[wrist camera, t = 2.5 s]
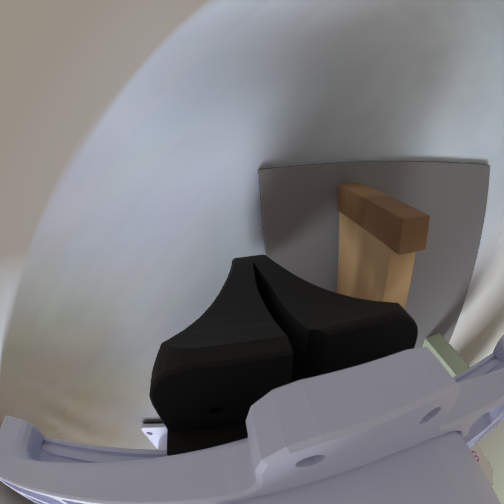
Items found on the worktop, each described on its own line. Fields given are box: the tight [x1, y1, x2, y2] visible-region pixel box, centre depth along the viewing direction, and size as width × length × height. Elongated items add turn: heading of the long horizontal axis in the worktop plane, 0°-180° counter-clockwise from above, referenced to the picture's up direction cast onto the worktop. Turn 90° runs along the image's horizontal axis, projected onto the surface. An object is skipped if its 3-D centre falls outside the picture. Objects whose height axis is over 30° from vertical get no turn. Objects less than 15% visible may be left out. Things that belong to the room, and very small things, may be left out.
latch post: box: [422, 333, 470, 377], centre depth 16 cm, size 2×2×6 cm
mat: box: [258, 161, 490, 348], centre depth 16 cm, size 16×16×1 cm
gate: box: [336, 183, 430, 309], centre depth 12 cm, size 10×1×5 cm, turn 6°
